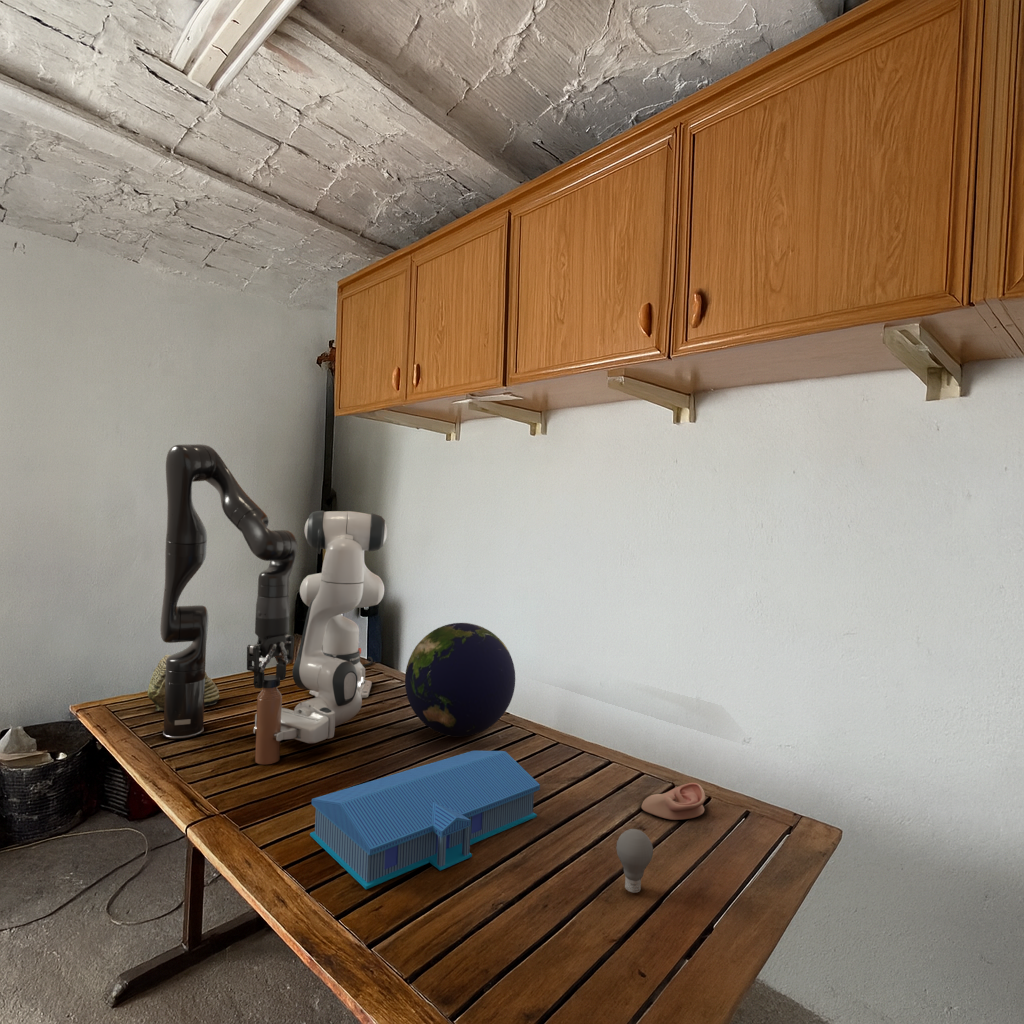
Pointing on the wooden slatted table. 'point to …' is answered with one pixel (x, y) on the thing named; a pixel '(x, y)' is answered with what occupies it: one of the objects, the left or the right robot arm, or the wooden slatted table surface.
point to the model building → (423, 815)
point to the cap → (271, 681)
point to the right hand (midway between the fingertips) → (265, 734)
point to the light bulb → (634, 857)
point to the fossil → (158, 687)
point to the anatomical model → (677, 802)
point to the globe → (460, 679)
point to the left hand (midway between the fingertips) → (270, 683)
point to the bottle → (268, 726)
